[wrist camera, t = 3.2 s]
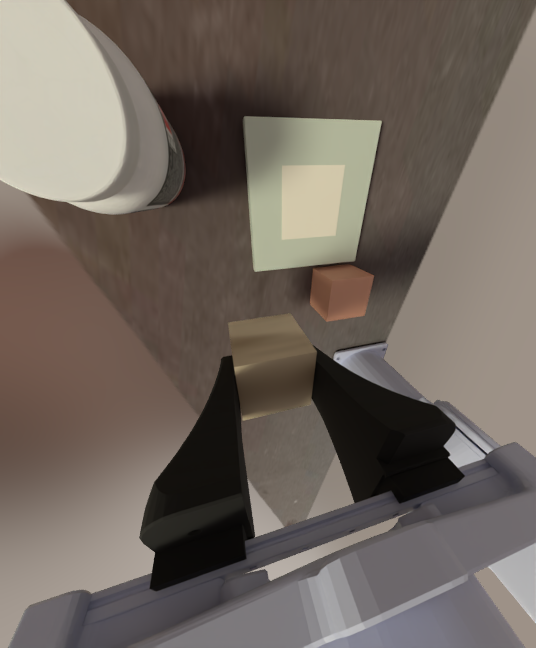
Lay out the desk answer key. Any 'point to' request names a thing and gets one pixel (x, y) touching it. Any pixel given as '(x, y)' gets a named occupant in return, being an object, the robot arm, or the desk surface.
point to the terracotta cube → (340, 291)
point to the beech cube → (271, 365)
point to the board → (307, 188)
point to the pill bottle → (80, 115)
